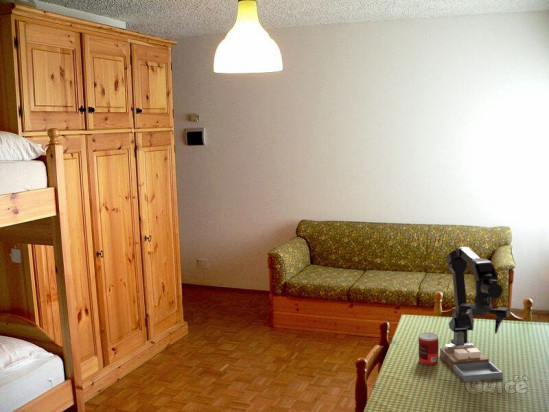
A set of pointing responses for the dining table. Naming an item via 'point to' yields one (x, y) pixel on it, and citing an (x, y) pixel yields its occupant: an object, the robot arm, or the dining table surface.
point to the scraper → (458, 343)
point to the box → (477, 371)
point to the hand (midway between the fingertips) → (484, 331)
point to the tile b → (473, 353)
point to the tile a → (461, 354)
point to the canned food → (428, 348)
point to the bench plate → (452, 360)
